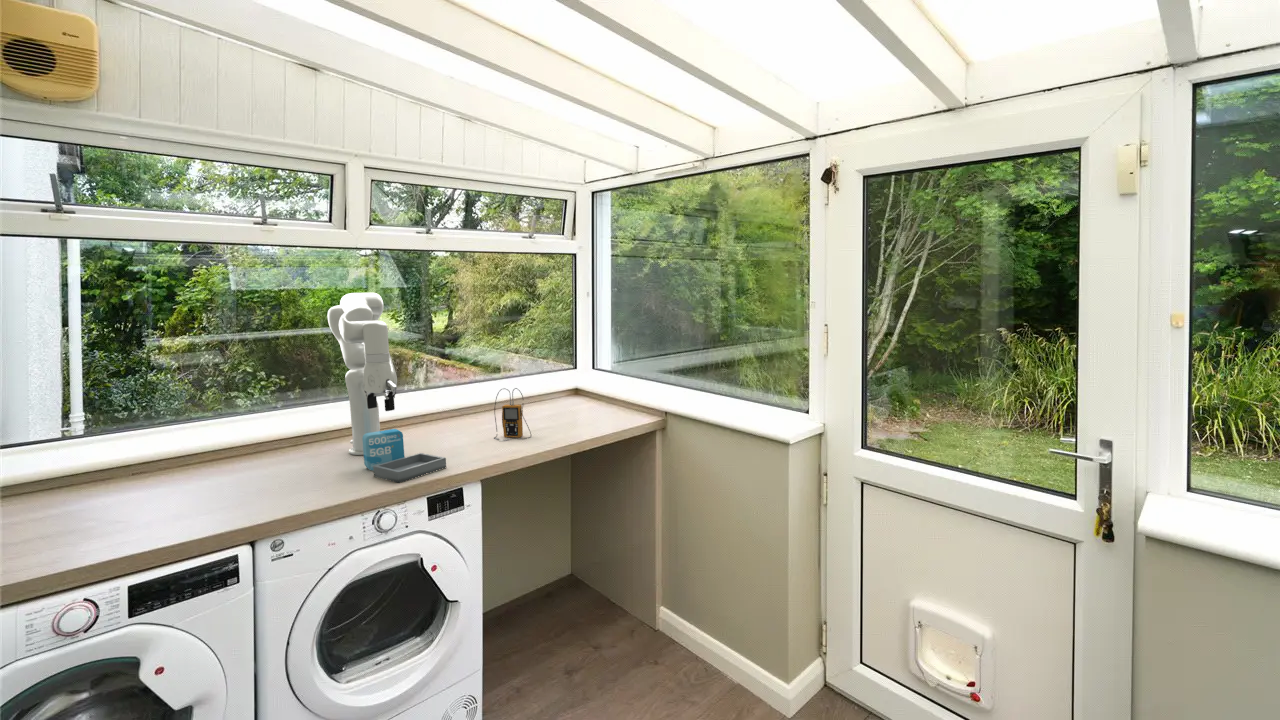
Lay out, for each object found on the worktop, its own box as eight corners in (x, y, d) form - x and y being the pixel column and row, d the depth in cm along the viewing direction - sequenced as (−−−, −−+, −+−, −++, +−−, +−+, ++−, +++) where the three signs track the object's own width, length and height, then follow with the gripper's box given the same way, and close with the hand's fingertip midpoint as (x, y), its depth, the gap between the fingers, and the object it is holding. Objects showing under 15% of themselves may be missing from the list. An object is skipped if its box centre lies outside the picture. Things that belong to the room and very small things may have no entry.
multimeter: (487, 442, 233) (484, 391, 230) (497, 435, 242) (495, 387, 240) (523, 442, 230) (520, 392, 228) (532, 436, 240) (529, 387, 238)
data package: (368, 471, 197) (365, 436, 195) (364, 468, 200) (361, 433, 199) (405, 464, 204) (402, 430, 203) (401, 461, 208) (398, 428, 206)
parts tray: (374, 476, 191) (373, 466, 190) (421, 462, 206) (420, 452, 205) (399, 483, 184) (398, 472, 183) (446, 467, 199) (445, 457, 198)
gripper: (351, 359, 199) (355, 409, 201) (382, 361, 190) (386, 413, 192) (372, 356, 206) (375, 405, 208) (403, 358, 196) (406, 409, 198)
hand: (381, 409), depth 200 cm, fingers open, 9 cm apart
